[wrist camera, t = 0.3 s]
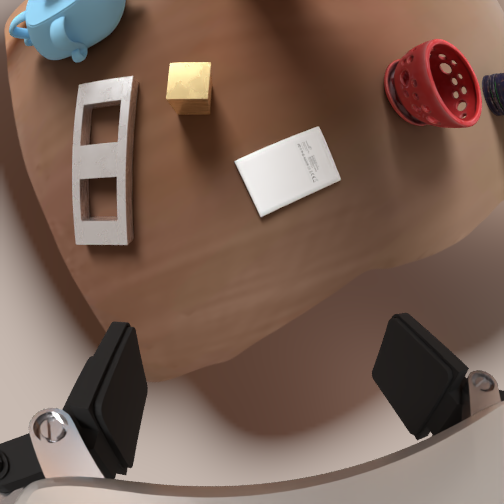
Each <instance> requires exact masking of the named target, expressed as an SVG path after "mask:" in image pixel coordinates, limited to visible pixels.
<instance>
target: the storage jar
mask: <svg viewBox="0 0 504 504" xmlns="http://www.w3.org/2000/svg"><path fill="white" fill-rule="evenodd" d="M482 89H483V94H484V97H485V100H486V102H487V105H488V107H489V108H490V110H491V111H492V112H493V113H494V114H495V115H504V73H500V74H492V75H487V76H484V77H483V80H482Z"/></svg>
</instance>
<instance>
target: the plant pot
mask: <svg viewBox="0 0 504 504" xmlns="http://www.w3.org/2000/svg"><path fill="white" fill-rule="evenodd" d="M430 54H431V55H430ZM439 54H444V55H445V56H446V57H441V56H439ZM451 60H454V61H455V62H456V63H457V64H453V63H452V61H451ZM441 63H446V64H448V65H449V66H450V67H451V69H452V72H451V73H445V72H444V71H443V70H442V69H441V67H440V64H441ZM458 74H461V75H462V79H460V78H459V76H458ZM452 78H455V79H456V80H457V82H458V84H457V85H454V84H453V83H452ZM384 87H385V91H386V95H387V97H388V100H389V102H390V104H391V105H392V107H393V108H394V110H395V111H396V112H397V114H398V115H399V116H400V117H401V118H403V119H404V120H405V121H407V122H408V123H410V124H413V125H417V126H424V125H427V124H429V125H433V126H438V127H444V128H465V127H471V126H473V125H474V124H475V123H476V122H477V121H478V119H479V118H480V115H481V109H482V97H481V91H480V87H479V83H478V80H477V78H476V75H475V73H474V71H473V69H472V67H471V65H470V64H469V62H468V61H467V59H466V58H465V57H464V55H463V54H462V53H461V52H460V51H459V50H458V49H457V48H456V47H455V46H453V45H452V44H451V43H449V42H447V41H445V40H442V39H433V40H430V41H427V42H425V43H422V44H420V45H418V46H416V47H414V48H413V49H411V50H410V51H408V52H407V53H406V54H405V55H404V56H403V57H402V58H401V59H398V60H395V61H393V62H392V63H391V64H390V65H389V66H388V67H387V69H386V72H385V76H384ZM462 87H465V88H466V90H467V93H466V94H463V93H462V91H461V89H462ZM455 91H457V92H458V94H459V97H458V98H454V96H453V93H454V92H455ZM461 102H465V103H466V108H465V109H464V110H463V111H458V110H457V107H458V105H459V104H460V103H461ZM464 116H466V117H465V118H463V119H462V117H464Z"/></svg>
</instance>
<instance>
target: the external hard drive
mask: <svg viewBox="0 0 504 504" xmlns="http://www.w3.org/2000/svg"><path fill="white" fill-rule="evenodd" d="M234 162H235V165H236V167H237V169H238V171H239V173H240V175H241V177H242V179H243V181H244V183H245V185H246V188H247V190H248V192H249V194H250V196H251V198H252V200H253V202H254V205H255V207H256V209H257V211H258V213H259V215H260V217H262V216H264V215H267V214H269V213H271V212H273V211H275V210H277V209H279V208H281V207H284V206H286V205H288V204H290V203H292V202H294V201H296V200H298V199H301V198H303V197H305V196H307V195H309V194H311V193H314V192H316V191H318V190H320V189H322V188H325V187H327V186H329V185H331V184H333V183H336V182H338V181H340V180H341V178H340V175H339V173H338V170H337V168H336V165H335V163H334V160H333V158H332V155H331V153H330V150H329V148H328V146H327V143H326V141H325V139H324V136H323V134H322V132H321V129H320V128H319V126H318V127H315V128H312V129H310V130H307V131H304V132H302V133H299V134H297V135H294V136H291V137H289V138H286V139H284V140H282V141H279V142H277V143H274V144H272V145H270V146H267V147H265V148H263V149H260V150H258V151H256V152H254V153H251V154H249V155H247V156H245V157H242V158H240V159H238V160H236V161H234Z"/></svg>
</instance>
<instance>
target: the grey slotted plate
mask: <svg viewBox="0 0 504 504" xmlns="http://www.w3.org/2000/svg"><path fill="white" fill-rule="evenodd" d="M138 85H139V82H138V81H137V80H136V79H135V78H134V77H133V76H130V77H121V78H114V79H107V80H101V81H95V82H90V83H85V84H80V85H79V89H78V96H77V103H76V112H75V122H74V135H73V156H72V194H73V215H74V228H75V239H76V244H80V245H128V244H129V243H130V242H131V241H132V240H133V239H134V234H133V206H132V170H133V143H134V126H135V114H136V103H137V94H138ZM117 105H121V108H120V119H119V132H118V142H113V143H102V144H93V145H90V131H91V118H92V109H94V108H101V107H109V106H117ZM104 177H117V216H118V217H90V206H89V178H104Z"/></svg>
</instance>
